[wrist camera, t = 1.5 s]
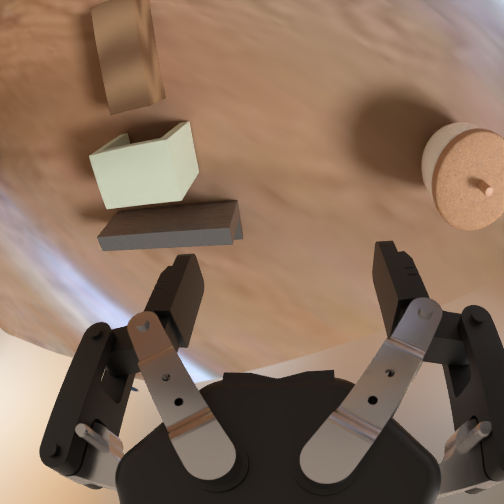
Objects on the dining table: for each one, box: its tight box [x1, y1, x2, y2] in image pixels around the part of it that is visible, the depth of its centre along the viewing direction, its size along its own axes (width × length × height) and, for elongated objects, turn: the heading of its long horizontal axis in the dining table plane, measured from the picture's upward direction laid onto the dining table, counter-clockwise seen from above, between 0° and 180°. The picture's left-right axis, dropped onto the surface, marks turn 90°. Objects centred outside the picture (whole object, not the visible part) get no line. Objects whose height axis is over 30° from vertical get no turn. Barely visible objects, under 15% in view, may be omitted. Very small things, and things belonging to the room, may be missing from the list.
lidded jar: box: [421, 122, 504, 230], centre depth 26 cm, size 11×11×9 cm
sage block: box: [89, 121, 199, 209], centre depth 30 cm, size 6×8×7 cm
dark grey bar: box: [97, 200, 243, 251], centre depth 36 cm, size 5×16×6 cm, turn 97°
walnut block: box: [91, 0, 166, 115], centre depth 24 cm, size 12×4×4 cm, turn 7°
